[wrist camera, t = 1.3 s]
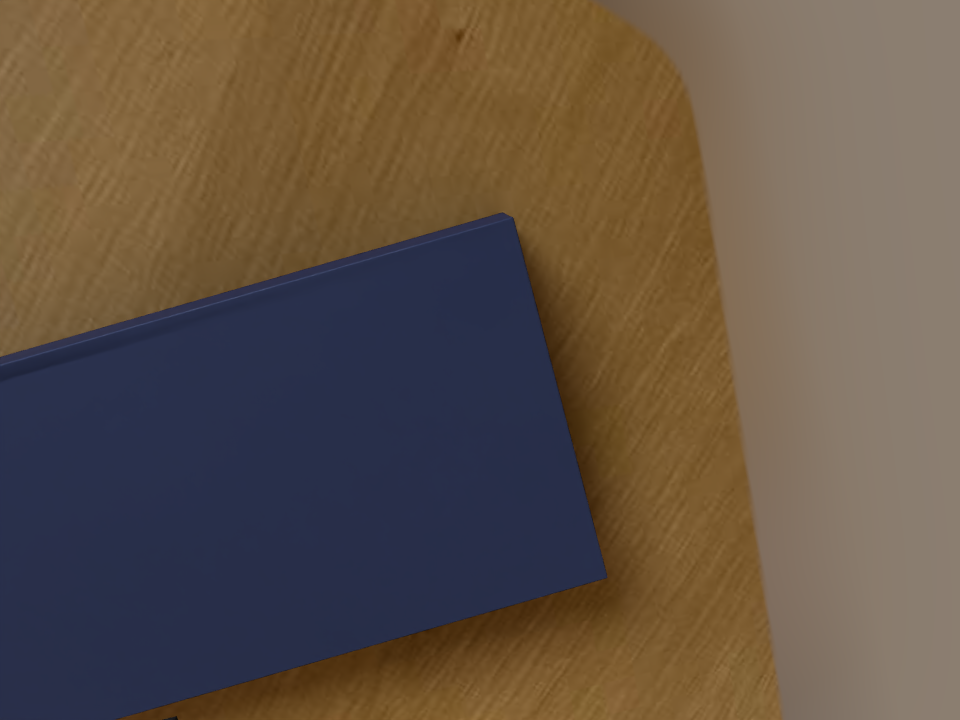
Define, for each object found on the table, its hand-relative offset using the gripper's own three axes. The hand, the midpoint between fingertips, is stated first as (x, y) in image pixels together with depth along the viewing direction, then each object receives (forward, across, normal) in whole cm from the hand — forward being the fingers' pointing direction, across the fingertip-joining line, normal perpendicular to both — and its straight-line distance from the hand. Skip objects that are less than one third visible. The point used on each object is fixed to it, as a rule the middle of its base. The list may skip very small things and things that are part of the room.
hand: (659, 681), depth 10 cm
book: (+17, -11, -2) cm, 21 cm away
